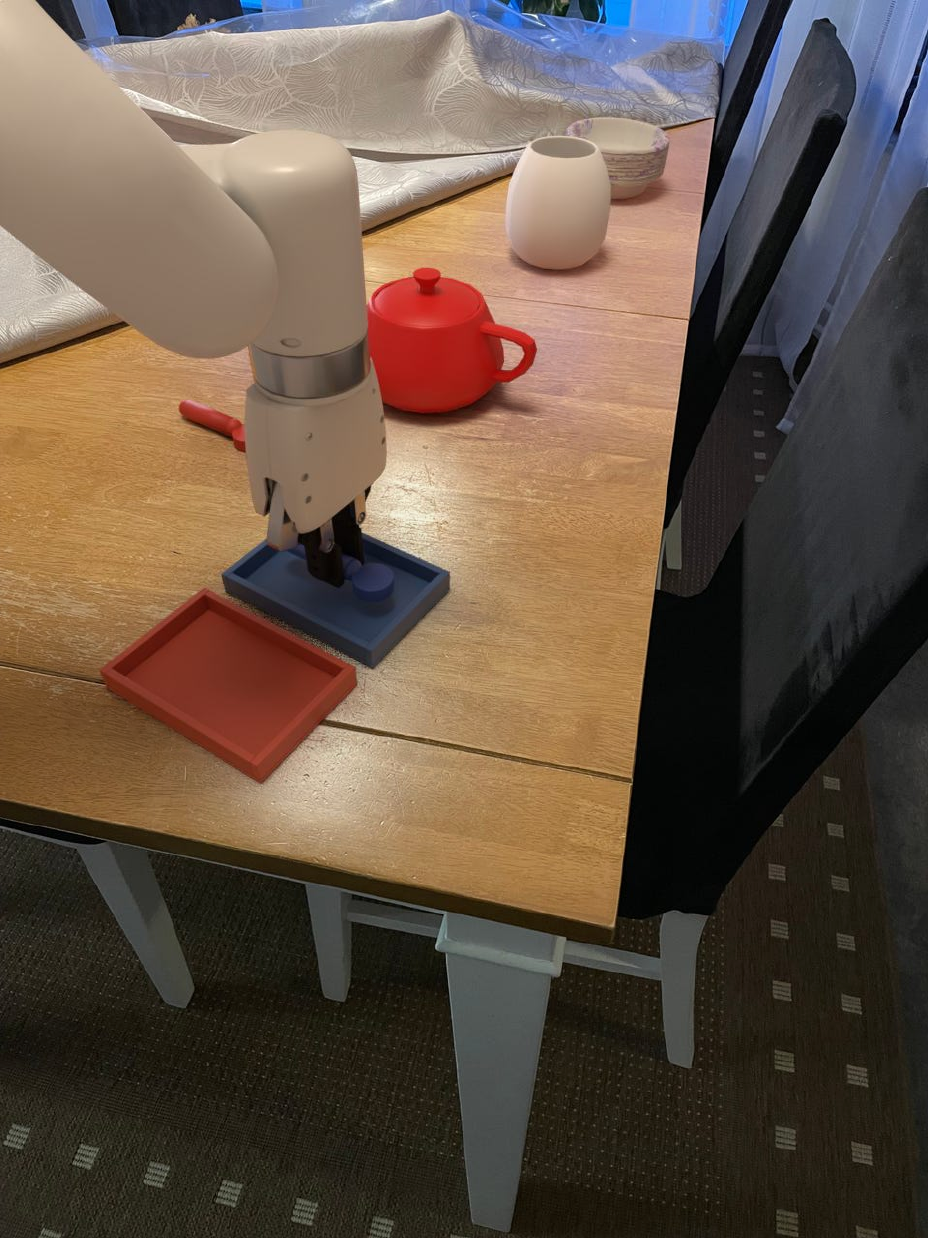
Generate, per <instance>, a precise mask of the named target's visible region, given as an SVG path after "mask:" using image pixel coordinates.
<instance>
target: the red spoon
mask: <svg viewBox="0 0 928 1238" xmlns="http://www.w3.org/2000/svg"><path fill="white" fill-rule="evenodd" d="M178 411H179V413H180V415H181V416H182V417H184V418H185V419H188V420H190V421H193V422H195V423H198V424H199V425H202V426H203V427H204V426H205V427H207V428H209V429H211V430H214V431H216V432H218V433H220V434H223V435H225V436H228V437H231V438H232V442H233V445H234V448H235V449H236V450H238V451H240V452H242V453H243V452H244V453H246V446H245V423H242V422H241V421H240V420H239V419H238V418H235V417H233V416H231V415H228V414H226V413H223V412H221V411H218V410H216V409H214V408H211V407H209V406H207V405H205V404H202V403H200V402H197V401H196V400H195V401H194V400H192V399H188V398H187V399H183V400H182V401H180V403H179V405H178Z"/></svg>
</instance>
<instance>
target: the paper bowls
mask: <svg viewBox="0 0 928 1238" xmlns="http://www.w3.org/2000/svg"><path fill="white" fill-rule="evenodd" d="M564 136H571V137H577V138H582V139H586V140H588V141H590V142H593V143H595V144H596V145H597V146H598V147H599V149H600V151H601V154H602V156H603V159H604V161H605V164H606V167H607V170H608V175H609V180H610V184H611V199H610V200H625V199H631V198H634V197H637V196H639V195H641V194H642V193H643V192H644V191H645V190H647V187H648V186H649V184H650V183H653V182H655V181H657V180H658V179H660V178H661V177H662V176H663V175H664V173H665V168H666V165H667V158H668V153H669V148H670V143H671V140H670V136H669V134H668V132H666V131H665V130H664V129H662V128H661V127H658V126H656V125H654V124H652V123H649V122H645V121H641V120H636V119H631V118H625V117H613V116H601V117H600V116H599V117H589V118H584V119H579V120H577V121H574V122H572V123H571V124H569V126H568V127H567V128H566V130H565V135H564Z"/></svg>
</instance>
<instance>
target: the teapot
mask: <svg viewBox="0 0 928 1238" xmlns="http://www.w3.org/2000/svg"><path fill="white" fill-rule="evenodd" d="M441 274H442V273H441V271H440V270H438V269H436V268H434V267H428V266H427V267H419V268H417V269H415V270H413V272H412V276H408V277H404V278H400V279H399V278H398V279H396V280H392V281H388V282H386V283H384V284H381V286H379V287H378V288H376V289H375V290H374V291H373V292H372V293H371V295H370V298H369V300H368V301H367V316H368V332H369V346H370V357H371V358H372V361H373V364H374V368H375V371H376V375H377V379H378V383H379V388H380V393H381V398H382V403H385V404H386V405H389V406H391V407H394V408H396V409H398V410H399V411H400V410H402V411H406V412H413V413H419V414H436V413H437V414H438V413H447V412H451V411H454V410H458V409H461V408H464V407H468V406H470V405H471V404H474V403H475V402H476V401H477V400H479V399H480V398H482V397H483V396H484V395H486V394H487V393H489V392H490V391H491V390H492V389H493V388H494V387H495V385H496V383H507V384H508V383H510V382H512V381H514V380H516V379H518V378H520V377H522V376H523V375H525V374H526V373H527V372H528V371H529V370H530V368H531V367H532V366H534V363H535V359H536V355H537V351H538V347H537V344H536V340H535V338H533V337H531V336H530V335H529V334H528V333H527V332H524V331H521V330H519V329H516V328H513V327H509V326H506V325H502V324H499V323H496V322H495V320H494V317H493V315H492V312H491V310H490V308H489V306H488V303H487V302H486V300H485V298H484V296H483V294H482V292H481V291H480V290H479V289H477V288H475V287H474V286H473V285H472V284H469V283H467V282H464V281H461V280H457V279H455V278H452V277H451V278H450V277H445V276H441ZM502 339H503V340H505V341H508V342H511V343H514V344H515V345H517V346H519V347H520V348H521V350H522V352H523V356H522V358H521V359H520V361H519V362H518V364H517V365H516V366H515V367H513V368H512V369H511V370H510V369H503V367H504V363H505V353H504V346H503V343H502Z"/></svg>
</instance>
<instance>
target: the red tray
mask: <svg viewBox="0 0 928 1238" xmlns="http://www.w3.org/2000/svg"><path fill="white" fill-rule="evenodd" d="M99 673H100V676H101V678H102V680H103V682H104V685H105V687H106V689H108V690H110V691H111V692H113V693H115V694H116V695H118V696H119V697H121V698H123V699H124V700H126V701H128V702H129V703H131V704H132V705H134V706H135V707H137V708H139V709H141V710H142V711H144V712H145V713H147V714H149V716H152V717H153V718H154V719H157V720H158V721H159V722H161V723H163V724H164V725H166V726H168V727H169V728H171V729H173V730H174V731H176V732H178V733H179V734H181V735H182V736H184V737H185V738H187V739H189V740H190V741H191V742H194V743H195V744H197V745H198V746H200V747H202V748H203V749H205V750H206V751H208V752H210V753H211V754H213V755H214V756H216V757H217V758H219V759H220V760H222V761H224V762H226V763H227V764H229V765H230V766H232V767H233V768H235V769H237V770H238V771H240V772H241V773H243V774H246V775H247V776H248V777H250V778H252V779H253V780H255V781H256V782H258V783H260V784H262V783H263V782H264V781H265V780H266V779H267V778H268V777H269V776H270V775H271V774H272V773H273V772H274V771H275V770H276V769H277V768H278V767H279V765H280V764H281V763H283V762H284V761H285V759H286V758H288V757H289V755H290V754H292V753H293V751H294V750H295V749H296V748H297V747H298V746H299V745H300V744H301V743H302V742H303V741H304V740H305V739H306V738H307V737H308V736H309V735H310V734H311V733H312V731H314V730H315V729H316V728H317V727H318V726H319V724H321V722H322V721H324V719H325V718H326V717H327V716H328V715H329V714H330V713H331V712H332V711H334V709H335V708H336V707H337V706H338V705H339V704H340V703H341V702H342V701H343V700H344V699H345V698H346V697H347V696H348V695H349V694H350V692H352V691H353V690H354V689H355V687H357V686H358V679H357V669H356V666H354V665H353V664H350V663H349V662H347V661H345V660H343V659H341V658H340V657H337V656H335V655H333V654H332V653H329V652H328V651H326V650H324V649H322V648H320V647H318V646H316V645H315V644H313V643H310V642H309V641H307V640H305V639H303V638H301V637H299V636H298V635H296V634H294V633H292V632H290V631H288V630H286V629H284V628H282V627H280V626H278V625H277V624H274V623H272V622H271V621H269V620H267V619H265V618H263V617H261V616H259V615H258V614H256V613H254V612H252V611H251V610H248V609H246V608H244V607H242V606H240V605H239V604H237V603H235V602H233V601H231V600H230V599H227V598H225V597H223V596H221V595H220V594H217V593H216V592H214V591H212V590H210V589H208V588H206V587H203V588H201V589H200V590H199V591H197V592H196V593H195V594H194V595H193V596H191V597H190V598H188V599H187V600H186V601H185V602H183V603H182V604H181V605H180V606H179V607H177V608H176V609H175V610H173V611H172V612H171V613H170V614H169V615H167V616H166V617H165V618H163V619H162V620H161V621H159V622H158V623H157V624H156V625H154V626H153V627H152V628H151V629H149V630H148V631H147V632H146V633H144V634H143V635H141V636H140V637H139V638H138V639H137V640H135V641H134V642H132V643H131V644H130V645H129V646H128V647H126V649H124V650H122V651H121V652H119V654H117V655H116V656H115V657H114V658H113V659H111V660H109V661H108V662H107V663H106V664H105V665H104V666H103V667H101V668H100V669H99Z"/></svg>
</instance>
